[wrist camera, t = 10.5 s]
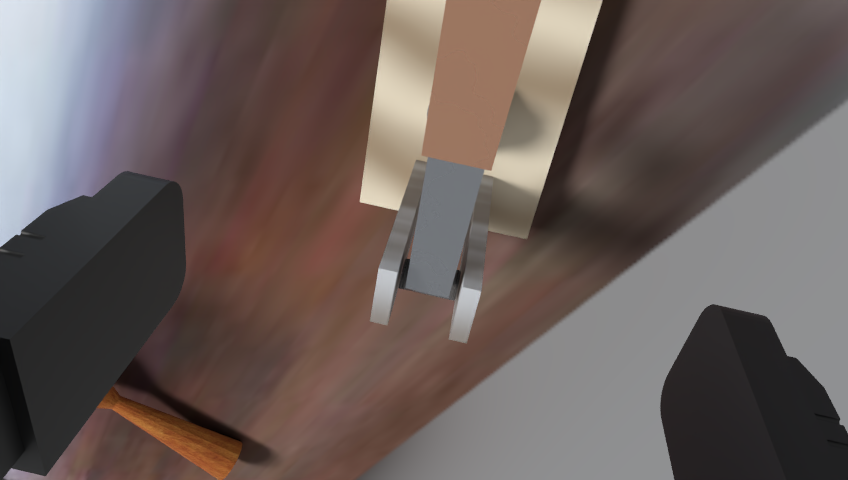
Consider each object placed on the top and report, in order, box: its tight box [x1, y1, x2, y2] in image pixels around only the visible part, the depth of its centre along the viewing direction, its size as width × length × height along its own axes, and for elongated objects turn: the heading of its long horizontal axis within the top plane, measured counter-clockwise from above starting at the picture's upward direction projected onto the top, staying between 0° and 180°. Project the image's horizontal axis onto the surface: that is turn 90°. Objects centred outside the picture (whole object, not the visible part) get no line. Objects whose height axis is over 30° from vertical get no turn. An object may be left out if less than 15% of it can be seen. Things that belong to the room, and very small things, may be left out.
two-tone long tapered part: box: [97, 386, 242, 480], centre depth 50 cm, size 6×6×20 cm
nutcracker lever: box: [399, 0, 541, 301], centre depth 24 cm, size 17×3×4 cm, turn 170°
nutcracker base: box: [360, 0, 603, 343], centre depth 28 cm, size 20×10×12 cm, turn 170°
